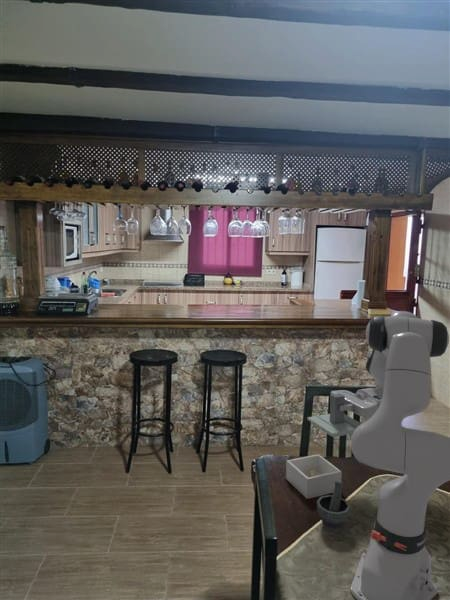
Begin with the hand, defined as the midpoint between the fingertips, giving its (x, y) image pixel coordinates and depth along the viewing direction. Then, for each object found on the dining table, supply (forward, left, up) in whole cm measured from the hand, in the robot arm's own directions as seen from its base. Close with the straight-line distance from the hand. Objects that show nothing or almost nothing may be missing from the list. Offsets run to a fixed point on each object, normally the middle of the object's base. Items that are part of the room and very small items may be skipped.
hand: (335, 405), depth 151 cm
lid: (+1, 0, -8) cm, 9 cm away
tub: (-7, +4, -28) cm, 30 cm away
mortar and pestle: (-23, -12, -29) cm, 38 cm away
